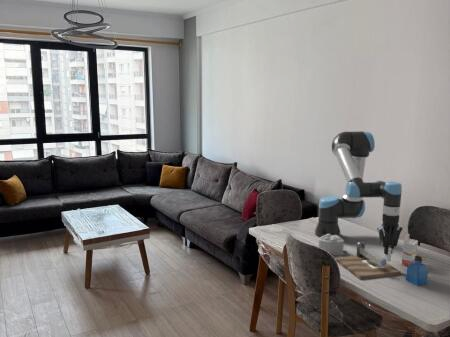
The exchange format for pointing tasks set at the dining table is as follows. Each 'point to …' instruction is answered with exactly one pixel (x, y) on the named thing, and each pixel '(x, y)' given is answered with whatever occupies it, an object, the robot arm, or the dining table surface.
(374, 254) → the swing bar
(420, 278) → the perfume bottle
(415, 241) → the ink cartridge box
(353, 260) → the label board
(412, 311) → the dining table surface
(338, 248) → the lumpy-topped squat cylinder
